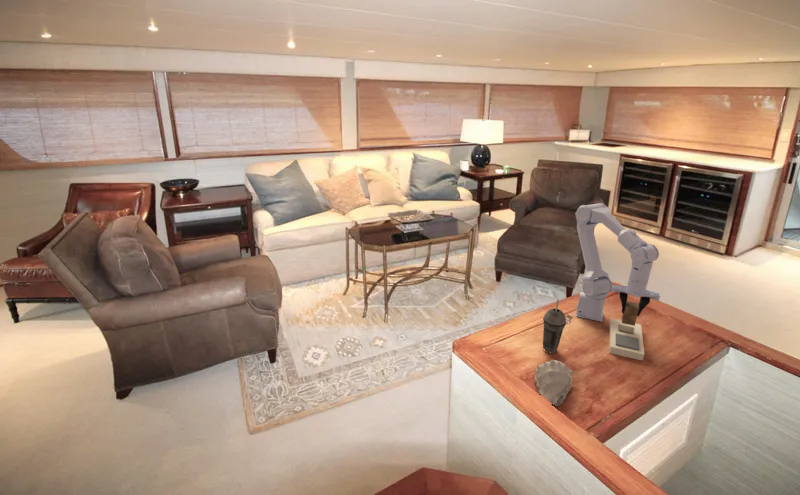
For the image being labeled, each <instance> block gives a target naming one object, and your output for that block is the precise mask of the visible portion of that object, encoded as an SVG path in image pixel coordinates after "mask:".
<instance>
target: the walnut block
mask: <svg viewBox="0 0 800 495" xmlns="http://www.w3.org/2000/svg"><path fill="white" fill-rule="evenodd" d="M638 311H639V302H634V301H629V300H627V302H626V305H625V311H624V313H622V316H621V321H622V323H624V324H629V325H633V326H635V323H636V322H637V318H638V316H637V315H638Z"/></svg>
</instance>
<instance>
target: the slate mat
mask: <svg viewBox="0 0 800 495" xmlns="http://www.w3.org/2000/svg"><path fill="white" fill-rule="evenodd" d="M616 346H621V347H625V348H629V349H634V350H638V351H639V339H638V338H635V337H630V336H626V335H621V334H617V333H616Z"/></svg>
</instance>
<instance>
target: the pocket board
mask: <svg viewBox="0 0 800 495" xmlns="http://www.w3.org/2000/svg"><path fill="white" fill-rule="evenodd" d="M642 330H643V329H642V324H639V323H636V322H635V326H633V325H629V324H624V323H622V319H616V318H610V320H609V342H608V343H609V345H608V346H609V353H608V354H613V355H617V356H621V357H625V358H630V359H633V360H638V361H644V358H645V347H644V346H645V345H644V339H643V338H644V337H643V331H642ZM616 333H617V334H621V335H626V336H630V337H635V338H638V339H639V351H638V350H634V349H629V348H625V347H621V346H616Z"/></svg>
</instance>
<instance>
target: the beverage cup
mask: <svg viewBox="0 0 800 495" xmlns="http://www.w3.org/2000/svg"><path fill="white" fill-rule="evenodd" d="M555 305H556V306H555V308H550V309H548V310H547V311H546V312H545V313H544V314H543V315H544V316H543V318H542V320H543V333H542V334H543V335H542V349H543V348H544V349H545V351H547V352H551V353H552V354H556V353H557V350H558V348H559V345H560V342H561V339H562V334H563V331H564V329H565V327H566V324H567V317H566V314H565V313H564V312H563V311H562V310H561V309H560V308H558V307H559V298H558V299H557V300H556V304H555ZM545 351H544V352H545ZM547 352H546V353H547ZM555 352H556V353H555ZM551 353H550V354H551Z"/></svg>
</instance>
